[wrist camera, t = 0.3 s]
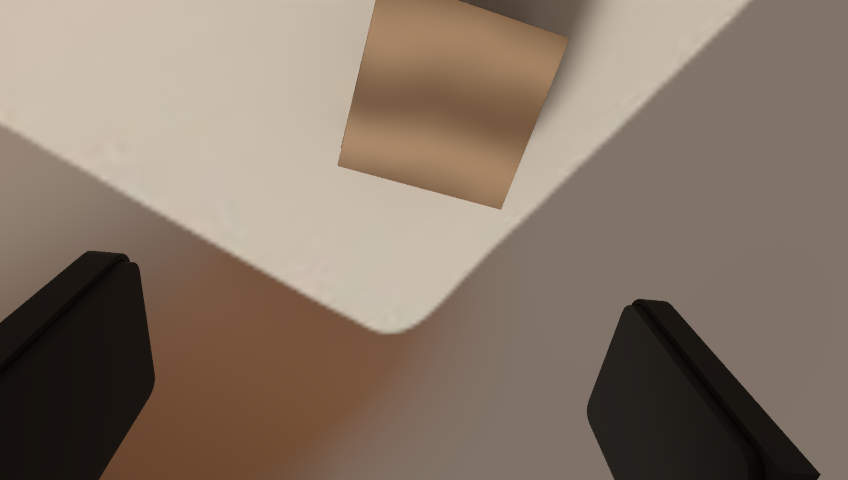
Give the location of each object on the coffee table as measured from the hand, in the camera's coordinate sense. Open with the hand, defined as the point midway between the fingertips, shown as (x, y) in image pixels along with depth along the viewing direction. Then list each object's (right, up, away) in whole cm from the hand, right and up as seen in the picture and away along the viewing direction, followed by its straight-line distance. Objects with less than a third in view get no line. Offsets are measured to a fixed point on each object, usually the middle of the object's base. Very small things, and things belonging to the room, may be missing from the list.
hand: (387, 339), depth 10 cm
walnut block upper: (+2, +12, +23) cm, 26 cm away
